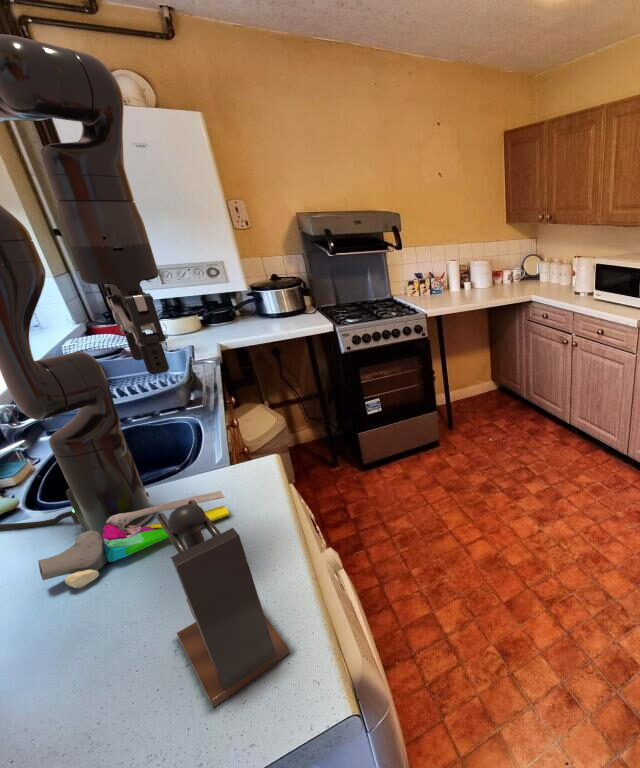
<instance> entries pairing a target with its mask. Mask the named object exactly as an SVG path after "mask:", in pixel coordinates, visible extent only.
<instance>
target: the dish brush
mask: <svg viewBox="0 0 640 768" xmlns="http://www.w3.org/2000/svg"><path fill="white" fill-rule="evenodd" d="M204 511H205V510H204V509H203V508H202V507H201V506H200V505H199V506H197V505H194V504H186V505H182V506H180V507H178V508H175V509H173V510H172V512H171V513H170V514H169V516H168V518H167V519H168V526H169V529H170V530H171V531H172V532H173V533H175V534H177V535H178V536H181V537H182V538H183V540H184V543H185V547H186V548H187V549H189V548H191V547H193V546H195V545H197V544H199V543H202V542H204V541H206V540H205V538H204V535H203V532H202V529H201V528H202V527H203V526H204V525H203V524H204V522H205V512H204ZM186 603H187V606H188V608H189V610H190V613H191V616H192V617H193V619H194V622H196V620H195V618H194V615H193V613H192V610H191V608H190V605H189V602H188V600H187V598H186Z"/></svg>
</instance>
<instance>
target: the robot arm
mask: <svg viewBox="0 0 640 768" xmlns="http://www.w3.org/2000/svg"><path fill="white" fill-rule="evenodd" d="M121 89H122V88H121V86H120V84H119V82H118V81H117V78H116V77H115V76H114V74H113V73H112V71H111V70H110V69H109V68H108V67H107V65H105V64H104V62H102V61H101V60H100V59H98V58H97V57H95V56H94V55H91V54H89V53H88V52H87V53H86V52H84V51H83V52H82V51H79V50H76V49H71V48H66V47H63V46H60V45H59V46H58V45H55V44H50V43H45V42H41V41H37V40H33V39H31V38H25V37H22V36H17V35H11V34H3V33H2V34H1V33H0V124H2V123H4V122H7V121H13V122H14V121H17V122H35V121H38V122H39V121H44V120H48V119H55V120H56V119H57V120H64V121H71V122H78V123H81V127H82V129H81V135H80V138H79V140H78V141H72V142H58V143H50V144H47V145H44V146H43V147H42V148H41V150H40V158H41V163H42V165H43V168H44V171H45V174H46V176H47V179H48V182H49V185H50V188H51V191H52V193H53V196H54V198H55V201H56V205H57V209H58V215H59V218H60V219H59V220H60V223H61V226H62V230H63V231H64V234H65V237H66V240H67V243H68V246H69V249H70V251H71V254H72V256H73V259H74V262H75V265H76V267H77V271H78V273H79V276H80V278H81V280H82V281H83V282H84V283H85V284H89V285H104V288H103V289H104V291H105V292H106V294H107V296H106V297H105V298H106V302H107V304H108V307H109V308H110V310H111V312H112V317H113V319H114V321H115V324H116V326H118V328H119V330H120V332H121V333H122V334H123V335H124V337H125V339H126V342H127V343H126V344H127V345H128V348H129V351H130V355H131V357H132V359H134V361H143V362H144V365H145V368H146V372H147V373H148V374H150V375H159V374H162V373H167V372H168V371H169V370H170V366H169V363H168V360H167V357H166V354H165V353H166V352H165V350H164V347H163V344H164V342H166V338H167V337H166V334H164V331H163V328H162V325H161V322H160V319H159V314H158V312H157V309H156V306H155V303H154V296H153V295H151V293H150V292H149V293H146V292H145V291H144V290H143V288H142V285H141V282H143V281H151V280H154V279H157V278H158V277H159V270H158V266H157V264H156V263H157V262H156V260H155V257H154V253H153V250H152V246H151V242H150V240H149V236H148V232H147V229H146V226H145V222H144V221H143V217H142V215H141V213H140V212H139V209H138V207H137V204H136V202H135V198H134V195H133V192H132V188H131V184H130V182H129V178H128V175H127V172H126V167H125V157H124V108H125V107H124V96H123V92H122V90H121ZM46 273H47V272H46V268H45V266H44V263H43V261H42V258H41V256H40V254H39V252H38V249H37V247H36V244H35V242H34V241H33V237H32V236H31V234H30V231H29V230H28V228H27V227H26V226H25V225H24V224H23V223H22V221H20V220H19V219H18V218H17V217H16V216H15V215H14V214H12V213H11V212H10V211H9V210H8V209H7V208H5V207H4V206H3V205H1V204H0V374H1V376H2V379H3V381H4V383H5V386H6V389H7V390H8V393H9V395H10V396H11V399H12V400H13V403H15V405H16V406H17V409H19V410H20V412H21V413H23V414H24V415H25V416H26V417H28V418H30V419H32V420H34V421H35V420H38V421H41V420H46V419H51V418H54V417H57V416H59V415H63V414H66V413H70V412H73V411H75V410H78V411H77V413H76V414H75V415H74V416H73V418H72V419H71V420H69V421H68V422H67V423H66V424H64V425H63V426H62V427H60V428H59V429H58V430H56V431H55V432H54V433H52V434H51V436H50V437H49V440H48V444H49V447H50V449H51V451H52V453H53V456H54V457H55V459H56V461H57V465H58V466H59V469H60V470H61V472H62V474H63V476H64V479H65V480H66V483H67V485H68V487H69V488H68V489H67V490H65V495H66V497H67V499H68V501H69V503H70V505H71V507H72V510H69V511H66V512H62V513H60V514H58V515H57V516H55V517H53V518H50V519H45V520H39V521H30V522H29V521H28V522H12V523H0V530H13V529H15V530H16V529H29V528H39V527H40V528H41V527H45V526H50V525H56V524H58V523H59V522H61V521H62V520H65V519H67V518H72V520H73V522H74V525H80V527H81V528H82V531H83V533H84V532H87V531H91V530H92V531H96V532H99V533H100V534H101V535H102V537H103V533H104V532H103V531H104V527H105V526H106V525H107V524H109V523H107V520H108V519H109V517H111V516H113V515H117V514H121V513H128V512H134V511H139V510H142V509H146V508H149V507H153V506H152V505H151V502H150V495H149V492H147V491H146V489H145V486H144V483H143V481H142V478H141V476H140V473H139V470H138V468H137V466H136V463H135V460H134V457H133V455H132V453H131V450H130V447H129V446H128V445H129V444H128V442H127V439H126V437H125V435H124V432H123V429H122V427H121V420H120V417H119V413H118V409H117V408H116V404H115V401H114V398H113V394H112V391H111V388H110V385H109V382H108V379H107V376H106V373H105V372H104V370H103V368H102V365H100V363H99V361H97V360H96V358H95V357H93V356H92V355H91V354H89V353H87V352H84V351H74V352H73V351H72V352H68V353H64V354H60V355H55V356H51V357H46V358H42V359H37V360H35V359H34V357H33V354H32V353H33V352H32V348H31V344H30V342H31V341H30V340H31V339H30V331H31V326H32V325H31V324H32V320H33V317H34V315H35V311H36V309H37V307H38V303H39V302H40V298H41V296H42V294H43V290H44V288H45V283H46V276H47V275H46ZM149 330H150V331H151V333H146V331H149ZM154 514H155V513H151V514H147V515H144V516H141V517H138V518H136V519H134V520H132V521H130V522H129V523H128V524H126V525H125V526H124V528H129V527H128V525H131V526H133V525H135V527H140V526H141V527H143V526H145V524H147V523H148V522H149V521H150V520H152V518H153V517H154ZM110 525H112V524H110Z"/></svg>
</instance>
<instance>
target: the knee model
mask: <svg viewBox="0 0 640 768" xmlns="http://www.w3.org/2000/svg"><path fill="white" fill-rule="evenodd" d="M224 498H225V496H224V494H223V492H222V490H217V491H213V492H208V493H204V494H203V493H202V494H198V495H193V496H190V497H186V498H182V499H177V500H174V501H169V502H164V503H161V504H158V505H154V506H152V507H149V508H146V509H142V510H139V511H134V512H128V513H121V514H117V515H113V516H111V517H109V519H108V520H107V523H109V524H107V525H106V526H105V527H104V531H103V532H104V533H103V537H102V535H101V534H100V533H99V532H96V531H92V530H91V531H87V532H84V531H83V532H81V533H79V535H78V536H77V537H76V539H75V541H74V543H73V544H72V545H71V546H69V547H68V548H67V549H65V550H64V551H61V552H60V553H58V554H55V555H53V556H50V557H47V558H46V557H45V558H43V559H38V561H37V562H38V569H39V573H40V577H41V580H42V581H47V580H50V579H54V578H58V577H61V576H66V575H68V576H67V577H65V578H64V583H65V584H66V585H68V586H69V587H72V588H74V589H81V588H83V587H86V586H87V585H88V584H89V583H91V582H93V581H95V580H96V579H97V578H98V577H99V576H100V572H99V570H100V569H102V568H103V567H104V566H105V565H106V564H107V563H108V562H109V563H113V562H115V561H118V560H121V559H123V558H126V557H128V556H130V555H133V554H134V553H137V552H139V551H142V550H144V549H147V548H148V547H150V546H152V545H154V544H156V543H158V542H161V541H163V540H165V539H169V537H168V535H167V534H166V532H165V530H164V529H163V527H162V526H161V524H160V522H158V523H152V524H148V525H142V526H140V527H135V525H133V526H131V525H128V527H129V528H124V526H125V525H126V524H128V523H129V522H130V521H132V520H134V519H136V518H138V517H141V516H144V515H147V514H151V513H154V514H155V513H160V512H163V511H169V510H175V509H176V508H178V507H180V506H182V505H186V504H188V502H189V501H190V500H194V501H195V502H196V503H197V504H200V503H201V504H202V503H205V502H210V501H214V500H220V499H224ZM225 499H226V498H225ZM204 512H205V514H206V515H207V517H208V518H209V519H210V520H211V522H212V523H213V522H214V521H218V520H220V519H222V518H226V517H229V516H230V511H229V510H228V509H227V507H226V506H225V505H220V506H217V507H214V508H210V509H207V510H204ZM110 524H112V525H110Z"/></svg>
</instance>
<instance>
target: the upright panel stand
mask: <svg viewBox="0 0 640 768" xmlns="http://www.w3.org/2000/svg"><path fill="white" fill-rule="evenodd" d="M188 504H194V505H197V506H199V507H200V505H199V503H196V502H195V501H194V500H190V501H189V502H188ZM155 517H156V519H157V521H158V523H160V524H161V526H162V527H163V529H164V530H165V532H166V534H167V535H168V539H169V540H170V542H171V543H172V545H173V547H174V548H175V550H176V551H177V553H176V554H174V555H172V556H171V557H170V559H171V561H172V564H173V566H174V569H175V571H176V573H177V576H178V577H177V578H178V579H179V582H180V585H181V587H182V590H183V592H184V595H185V597H186V599H187V600H188V602H189V605H190V608H191V610H192V613H193V615H194V617H193V619H194V618H195V619H194V622H193V623H191V624H190V625H188V626H187V627H185V628H183V629H180V630H179V631H178V632H176V635H177V638H178V640H179V642H180V644H181V646H182V648H183V650H184V652H185V654H186V656H187V658H188V660H189V662H190V664H191V666H192V668H193V670H194V673H195V674H196V676H197V678H198V680H199V682H200V684H201V686H202V689H203V690H204V692H205V694H206V696H207V699H208V701H209V702H210V704H211V707H212V708H215V707H217V706H218V705H219V704H221V703H222V702H224V701H225V700H227V699H229V698H230V697H231V696H232V695H234V694H235V693H237V692H238V691H239V690H240V689H241V690H242V688H244V687H245V686H246V685H248V684H249V683H250V682H252V681H254V680H255V679H256V678H258V677H259V676H260V675H262V674H263V673H264V672H266V671H267V670H268V669H270V668H271V667H273V666H274V665H276V664H277V663H278V662H280V661H281V660H283V659H284V658H286V657H287V656H288V655H289V654H291V652H290V648H289V646H288V644H287V643H286V642H285V640H284V639H283V638H282V637H281V635H280V634H279V632H278V631H277V630H276V628H275V627H274V626H273V624H272V623H271V622H270V620H269V619H268V618H267V616H266V615H265V614H264V609H263V607H262V603H261V601H260V600H261V599H260V598H259V594H258V591H257V588H256V584H255V581H254V578H253V575H252V571H251V568H250V566H249V561H248V559H247V555H246V552H245V550H244V546H243V543H242V539H241V536H240V534H239V533H238V532H237V531H236V530H235V528H234V527H231V528H229V529H227V530H225V531H223V532H220V530H219V529H218V528H217V526H216V525H215V524H214V523H213V521H212V522H211V520H210V519H209V518H208V517H207V515H206V514H205V522H204V524H203V526H204V527H205V529H206V530H207V531H208V533H209V534H210V535H211V537H210V538H208V539H206V540H205V541H204V542H202V543H199V544H197V545H195V546H193V547H191V548H189V549H187V546H186V544H184V542H183V541H182V539H181V538H180V535H177V534H175V533H173V532H172V531H171V530H170V529H169V526H168V519H169V518H167V516H166V515H165V513H163V512H157V514H156V515H155ZM187 600H186V601H187ZM189 605H188V606H189ZM190 608H189V609H190ZM191 610H190V611H191ZM192 613H191V614H192ZM193 615H192V616H193ZM195 620H196V621H195Z"/></svg>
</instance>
